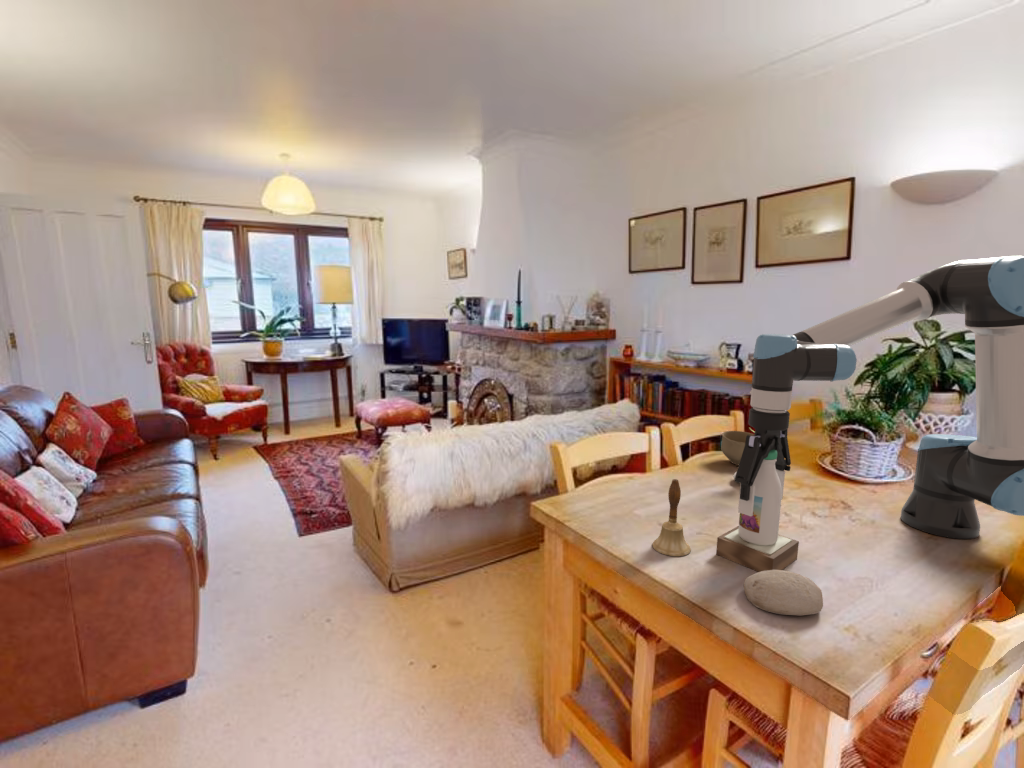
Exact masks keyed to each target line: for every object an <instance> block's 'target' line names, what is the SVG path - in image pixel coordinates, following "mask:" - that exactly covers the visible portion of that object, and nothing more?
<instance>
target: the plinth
mask: <svg viewBox="0 0 1024 768" xmlns="http://www.w3.org/2000/svg"><path fill="white" fill-rule="evenodd" d="M738 530H739V525H738V526H736V527H734V528H732V529H730V530H728V531H727V532H724V533H723V534H720V535H718V537H717V539H716V555H717V556H719V557H722V558H723V559H724V558H725V559H726V560H729V561H731V562H733V563H735V564H738V565H741V566H743V567H746V568H748V569H750V570H753V571H755V572H757V573H758V572H761V571H766V570H784V569H785V568H786V567H788V566H790V565H791V564H792V563H793V562H794V561H796V560H797V559H798V553H799V546H800V542H799V541H798V540H796V539H792V538H790V537H787V536H784V535H781V534H779V533H778V539H777V542H776V543H775V544H773V545H768V546H763V545H756V544H752V543H749V542H747V541H745V540H743V539H742V538H741V537H740V536H739V533H738Z"/></svg>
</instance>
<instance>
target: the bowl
mask: <svg viewBox="0 0 1024 768" xmlns="http://www.w3.org/2000/svg"><path fill="white" fill-rule="evenodd" d="M754 434H755V433H752V432H751V433H750V432H747V431H742V430H741V431H739V430H727V431H723V432H721V436H722V437H721V440H722V441H721V444H720V445H721V446H720V449H721V452H722V454H723V455H724V456H725V457H726V458H727V459H728V460H729V461H730V463H732V464H733V465H736V466H739V463H740V460H741V457H742V454H743V450H744V447H745V441H746V436H747V435H750V436H754Z"/></svg>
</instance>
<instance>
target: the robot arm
mask: <svg viewBox="0 0 1024 768" xmlns="http://www.w3.org/2000/svg"><path fill="white" fill-rule="evenodd" d="M949 314H950V315H951V314H954V315H956V314H959V315H960V314H961V315H964V325H965V328H967V329H968V330H970V331H971V332H972V333H973V334H974V349H975V350H974V354H975V355H974V357H975V359H974V360H975V361H974V362H975V405H976V406H975V407H976V408H975V411H976V412H975V413H976V436H970V435H959V434H950V433H949V434H946V433H942V434H941V433H934V434H926V435H924V436H922V437H921V438H920V442H919V446H918V448H917V456H916V463H915V466H916V467H915V471H914V474H915V475H914V482H913V487H912V491H911V493H910V495H909V496H908V498H907V500H906V501H905V503H904V504H903V506H902V507H901V511H900V519H901V521H902V522H903V523H905V524H906V525H908V526H910V527H912V528H914V529H916V530H919V531H921V532H925V533H928V534H930V535H935V536H939V537H945V538H949V539H950V538H951V539H959V540H969V539H970V540H972V539H975V538H978V537H979V536H980V531H981V524H980V523H981V522H980V520H979V515H978V512H977V507H976V503H975V501H978V502H980V503H983V504H986V505H987V506H989V507H992V508H993V509H995V510H997V511H999V512H1005V513H1007V514H1011V515H1012V516H1013V515H1014V516H1019V517H1021V516H1022V517H1023V516H1024V255H1007V256H1006V255H1005V256H999V257H989V258H988V257H987V258H978V259H961V260H958V261H957V260H956V261H953V262H950V263H947V264H945V265H942V266H939V267H936V268H934V269H931V270H928V271H925V272H924V273H923V274H919V275H917V276H915V277H913V278H911V279H908V280H905V281H903V282H901V283H900V284H899V285H898V286H897V288H896V290H893V291H892V292H889V293H887V294H884V295H882V296H880V297H877V298H875V299H873V300H871V301H868V302H866V303H864V304H861V305H859V306H856V307H855V308H853V309H850V310H847V311H845V312H843V313H841V314H838V315H836V316H833V317H831V318H829V319H826V320H825V321H822V322H819V323H817V324H815V325H813V326H811V327H808V328H806V329H803V330H801V331H799V332H796V333H794V334H785V333H784V334H783V333H782V334H781V333H778V334H777V333H764V334H763V333H762V334H760V335H759V336H757V337H756V340H755V345H754V350H753V355H752V358H753V364H752V365H753V366H752V376H751V377H752V380H751V390H749V394H750V406H751V408H750V409H749V410H748V411H749V413H748V425H749V426H750V428H751V427H752V428H753V429H754V430H755V433H753V434H754V436H750V435H747V436H746V441H745V447H744V450H743V454H742V457H741V460H740V463H739V465H737V466H738V467H737V470H736V472H737V473H736V476H735V479H734V482H735V483H738V484H740V485H739V496H738V497H739V498H738V509H737V512H738V513H739V514H740V513H742V514H745V515H748V516H753V506H754V495H755V485H753V483H754V481H755V478H756V476H757V474H758V471H759V469H760V467H761V464H762V462H763V460H764V458H767V457H768V454H769V452H770V451H771V450H774V449H775V450H776V451H777V458H776V460H777V461H776V462H775V467H776V472H777V474H778V477H779V479H780V482H781V488H782V496H781V501H782V500H783V497H784V487H785V486H784V485H785V476H786V475H785V474H786V471H787V472H790V471H791V468H792V467H791V464H792V462H791V460H792V459H791V455H790V447H789V441H788V432H789V430H788V429H789V425H790V414H791V413H790V412H789V410H790V409H791V408H792V397H793V385H794V381H797V382H799V381H812V382H815V381H818V382H820V381H821V382H823V381H824V382H830V383H831V382H836V381H845V380H848V379H849V378H851V377H852V376H853V374H854V373H855V371H856V368H857V361H858V360H857V356H856V355H857V354H856V352H855V351H854V349H853V348H852V347H851V346H853V345H856V344H859V343H861V342H863V341H865V340H867V339H870V338H872V337H875V336H877V335H879V334H882V333H884V332H887V331H889V330H891V329H894V328H896V327H899V326H901V325H903V324H905V323H908V322H910V321H913V320H914V321H917V322H918V321H921V322H922V321H924V320H926V319H929V318H932V317H936V316H940V315H949Z"/></svg>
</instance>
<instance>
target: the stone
mask: <svg viewBox="0 0 1024 768" xmlns="http://www.w3.org/2000/svg"><path fill="white" fill-rule="evenodd" d="M743 590H744V593H745V597H746V599H747V600H748V601H749V603H751V604H752V605H753V606H754V607H756V608H758V609H760V610H763V611H765V612H769V613H773V614H777V615H784V616H800V617H801V616H809V615H815V614H818V613H820V612H822V609H823V607H824V597H823V592H822V589H821V588H820V587H819V586H818V585H817V583H816V582H815V581H813V580H812V579H811V578H810V577H808V576H804V575H801V573H796V572H792V571H789V570H784V569H782V570H766V571H761V572H758V571H757V572H755V573H753V574H751V575H749V576H747V577H746V578H745V580H744V582H743Z"/></svg>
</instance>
